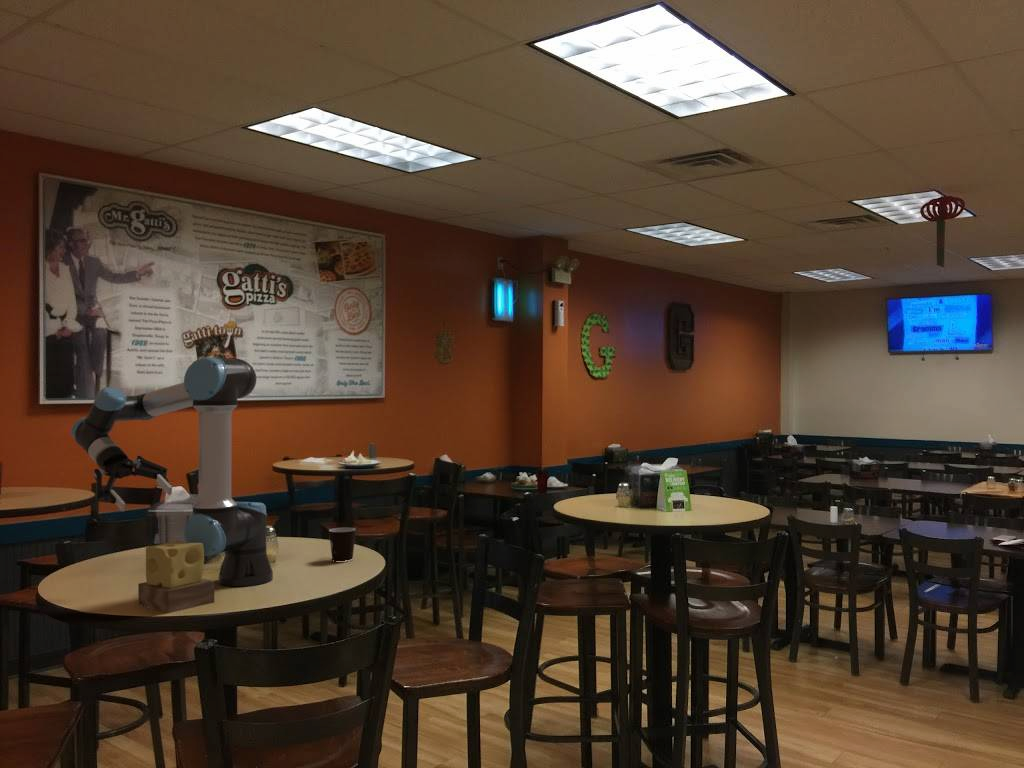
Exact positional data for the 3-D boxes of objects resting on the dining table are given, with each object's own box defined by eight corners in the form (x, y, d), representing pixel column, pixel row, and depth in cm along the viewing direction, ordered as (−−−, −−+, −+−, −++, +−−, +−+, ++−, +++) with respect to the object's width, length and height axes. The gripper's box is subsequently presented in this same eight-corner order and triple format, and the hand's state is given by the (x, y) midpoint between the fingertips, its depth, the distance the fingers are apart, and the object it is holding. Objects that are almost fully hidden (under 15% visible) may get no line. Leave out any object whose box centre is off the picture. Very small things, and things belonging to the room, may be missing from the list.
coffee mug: (353, 563, 268) (352, 532, 268) (326, 563, 268) (326, 532, 268) (360, 556, 280) (359, 526, 280) (334, 556, 280) (334, 526, 280)
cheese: (170, 589, 211) (170, 549, 211) (143, 584, 216) (143, 546, 216) (204, 580, 220) (204, 542, 220) (177, 576, 225) (177, 539, 225)
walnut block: (214, 604, 219) (214, 581, 219) (168, 615, 209) (168, 590, 209) (184, 596, 228) (183, 574, 228) (138, 606, 217) (138, 583, 217)
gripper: (148, 453, 252) (187, 494, 243) (63, 479, 234) (102, 525, 224) (150, 433, 248) (190, 474, 239) (64, 458, 230) (103, 504, 220)
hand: (147, 499), depth 232 cm, fingers open, 13 cm apart
